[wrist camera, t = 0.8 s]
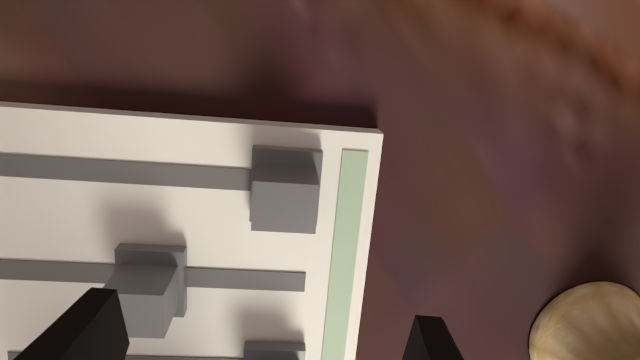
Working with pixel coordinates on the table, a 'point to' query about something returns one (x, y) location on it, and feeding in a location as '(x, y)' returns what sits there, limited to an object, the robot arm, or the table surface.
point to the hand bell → (588, 325)
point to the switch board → (181, 226)
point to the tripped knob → (150, 287)
